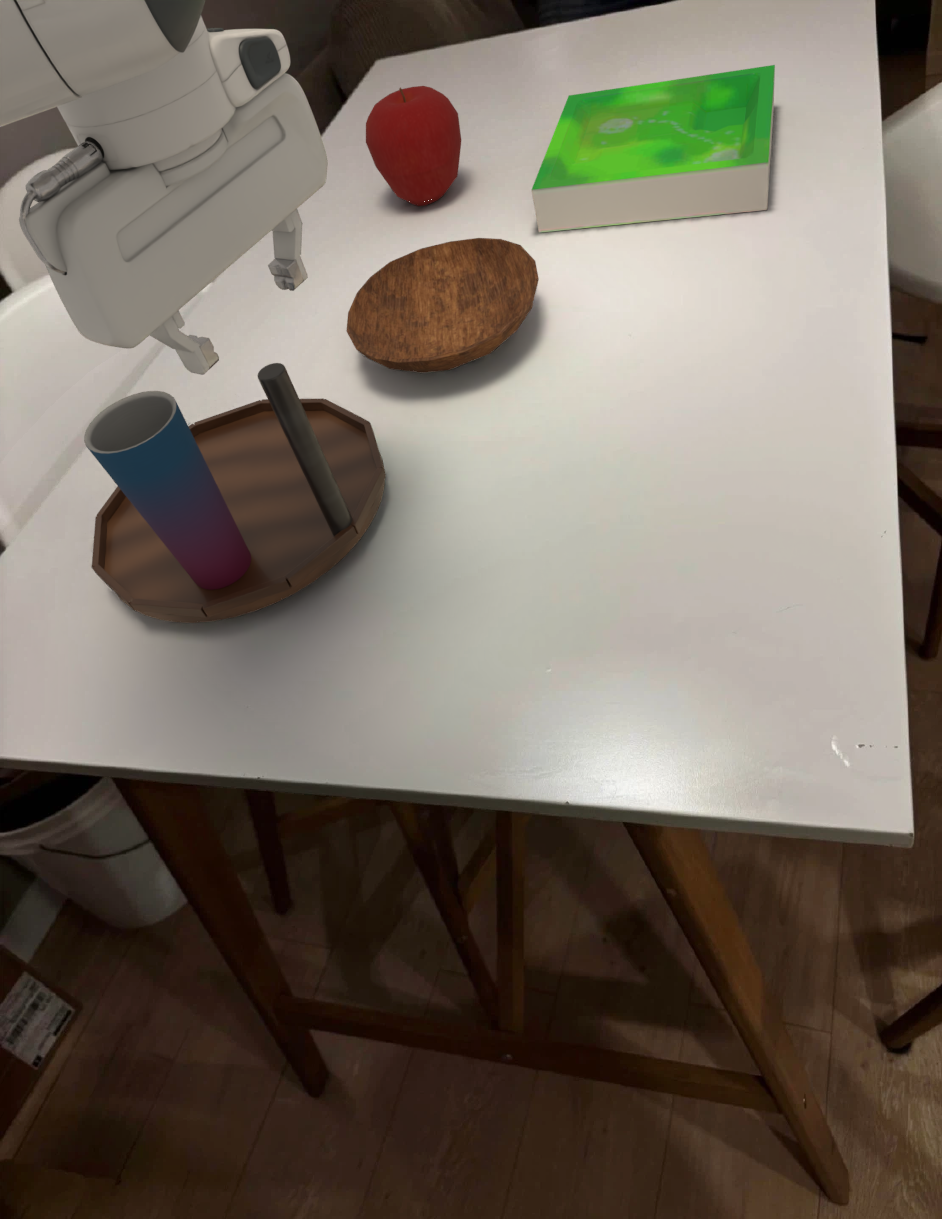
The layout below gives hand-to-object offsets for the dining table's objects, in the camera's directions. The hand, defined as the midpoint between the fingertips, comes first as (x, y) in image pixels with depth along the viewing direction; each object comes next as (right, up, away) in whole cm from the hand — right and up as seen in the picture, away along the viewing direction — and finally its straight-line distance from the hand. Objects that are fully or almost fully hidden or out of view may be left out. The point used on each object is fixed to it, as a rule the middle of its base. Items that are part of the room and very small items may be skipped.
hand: (250, 324), depth 58 cm
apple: (+9, +35, +57) cm, 68 cm away
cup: (-6, -15, +15) cm, 22 cm away
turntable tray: (-6, -10, +20) cm, 23 cm away
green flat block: (+37, +34, +48) cm, 69 cm away
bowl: (+12, +9, +34) cm, 38 cm away
